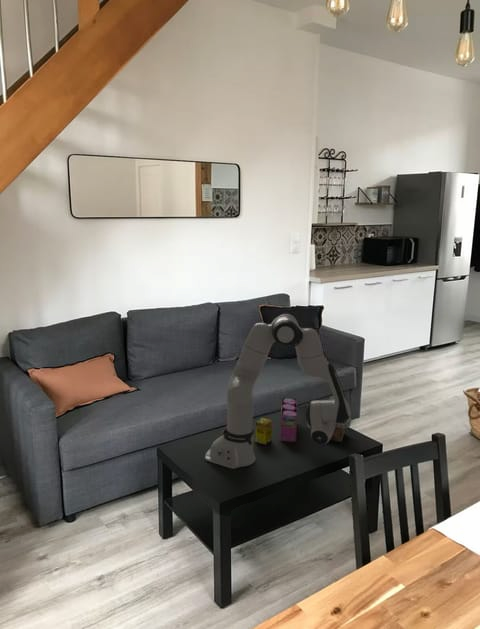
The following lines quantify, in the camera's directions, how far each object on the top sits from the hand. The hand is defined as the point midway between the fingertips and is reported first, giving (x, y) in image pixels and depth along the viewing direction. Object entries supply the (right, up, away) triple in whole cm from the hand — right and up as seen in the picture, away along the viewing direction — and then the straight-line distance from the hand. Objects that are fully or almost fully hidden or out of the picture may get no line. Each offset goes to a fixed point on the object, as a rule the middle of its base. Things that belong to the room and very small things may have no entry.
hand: (331, 412), depth 241 cm
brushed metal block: (+3, -6, +9) cm, 12 cm away
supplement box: (-32, -15, +3) cm, 35 cm away
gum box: (-19, -13, +16) cm, 28 cm away
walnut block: (+3, -14, +11) cm, 18 cm away
